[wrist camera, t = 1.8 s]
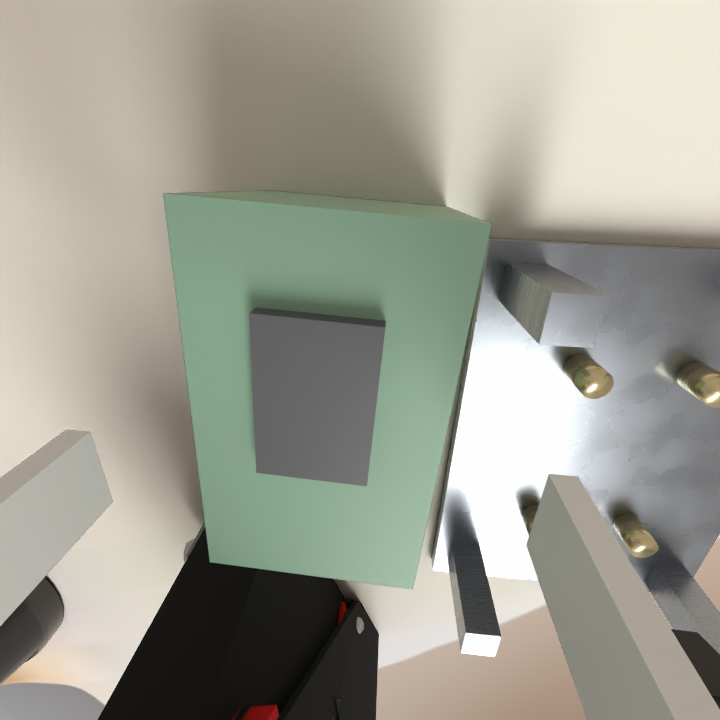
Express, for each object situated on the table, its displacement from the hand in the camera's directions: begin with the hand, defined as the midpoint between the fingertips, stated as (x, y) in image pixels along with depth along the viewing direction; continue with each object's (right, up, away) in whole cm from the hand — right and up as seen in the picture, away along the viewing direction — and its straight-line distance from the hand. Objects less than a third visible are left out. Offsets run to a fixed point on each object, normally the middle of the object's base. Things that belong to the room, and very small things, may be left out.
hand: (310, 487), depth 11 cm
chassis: (+16, -1, +13) cm, 21 cm away
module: (+1, +5, +11) cm, 13 cm away
